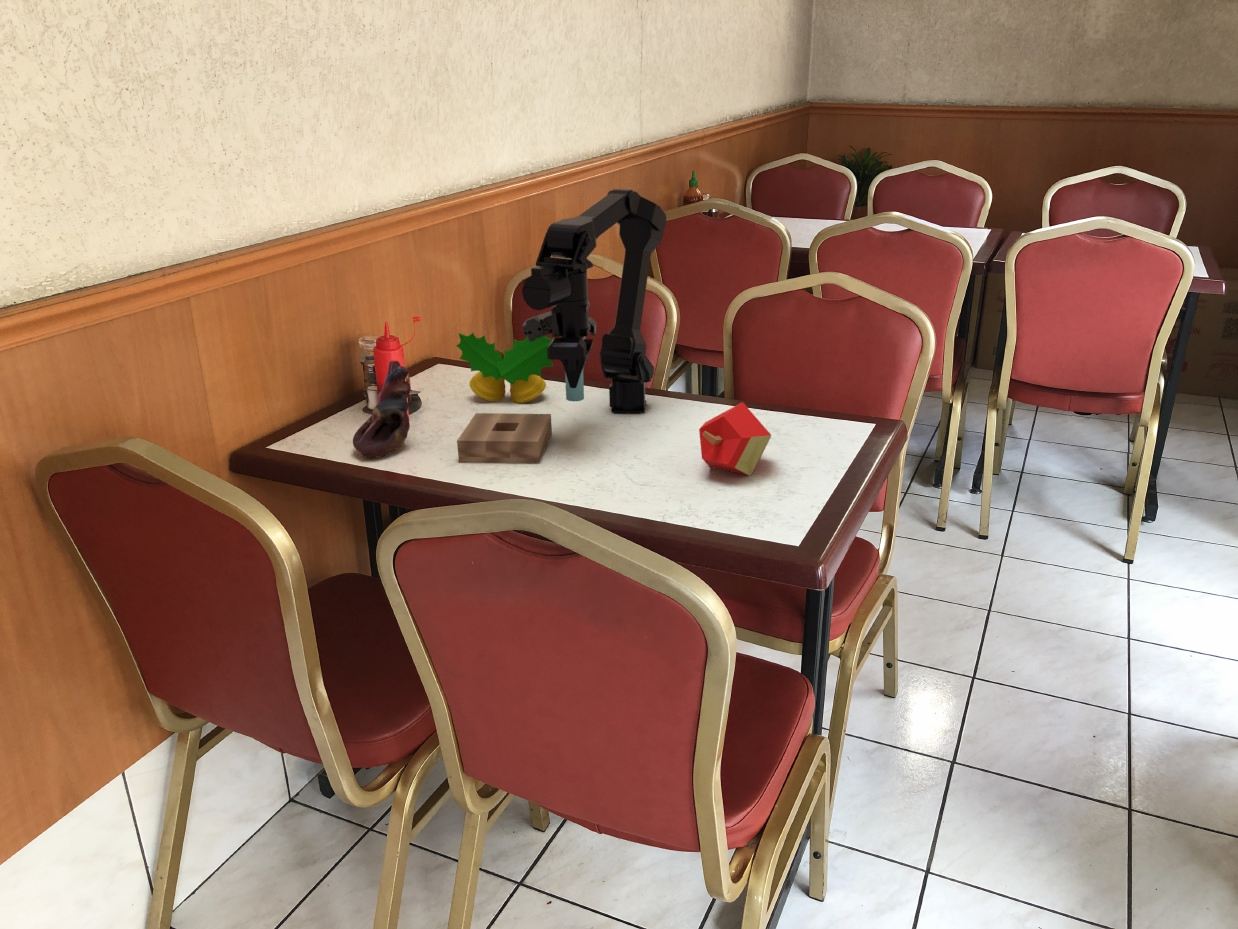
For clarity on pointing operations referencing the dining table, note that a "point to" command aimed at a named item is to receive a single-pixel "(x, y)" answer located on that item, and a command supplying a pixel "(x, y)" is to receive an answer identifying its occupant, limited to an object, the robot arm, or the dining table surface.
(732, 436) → the apple
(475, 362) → the ornament
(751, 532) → the dining table surface
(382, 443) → the anatomical model
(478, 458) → the hole block
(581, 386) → the dowel
